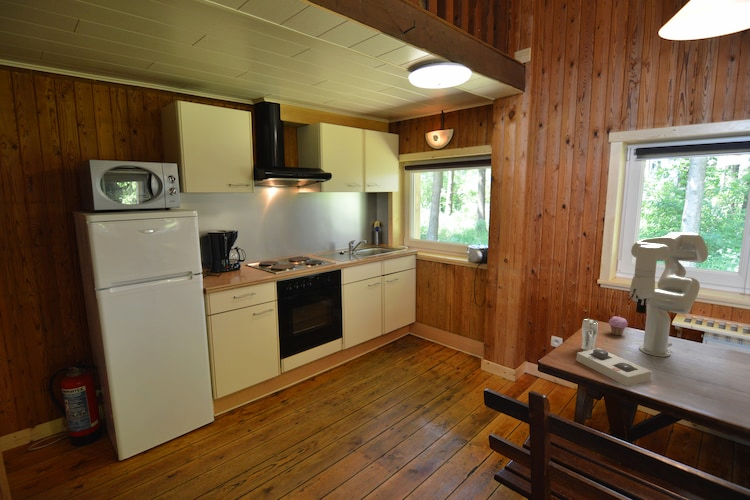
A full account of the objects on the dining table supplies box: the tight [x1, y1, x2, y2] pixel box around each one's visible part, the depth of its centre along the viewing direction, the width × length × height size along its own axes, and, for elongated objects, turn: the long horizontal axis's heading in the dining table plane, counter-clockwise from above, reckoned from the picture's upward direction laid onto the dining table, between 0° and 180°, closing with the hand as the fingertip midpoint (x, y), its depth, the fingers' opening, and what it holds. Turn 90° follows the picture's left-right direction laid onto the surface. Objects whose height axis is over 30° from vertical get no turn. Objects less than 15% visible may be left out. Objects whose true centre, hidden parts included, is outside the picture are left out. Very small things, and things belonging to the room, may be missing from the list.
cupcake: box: [608, 315, 628, 336], centre depth 209 cm, size 9×9×10 cm
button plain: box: [593, 348, 609, 360], centre depth 174 cm, size 6×6×3 cm
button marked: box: [617, 363, 634, 372], centre depth 163 cm, size 6×6×3 cm
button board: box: [576, 347, 652, 387], centre depth 169 cm, size 14×25×4 cm, turn 20°
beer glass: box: [580, 318, 599, 351], centre depth 190 cm, size 7×7×15 cm
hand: (640, 312), depth 170 cm, fingers closed
